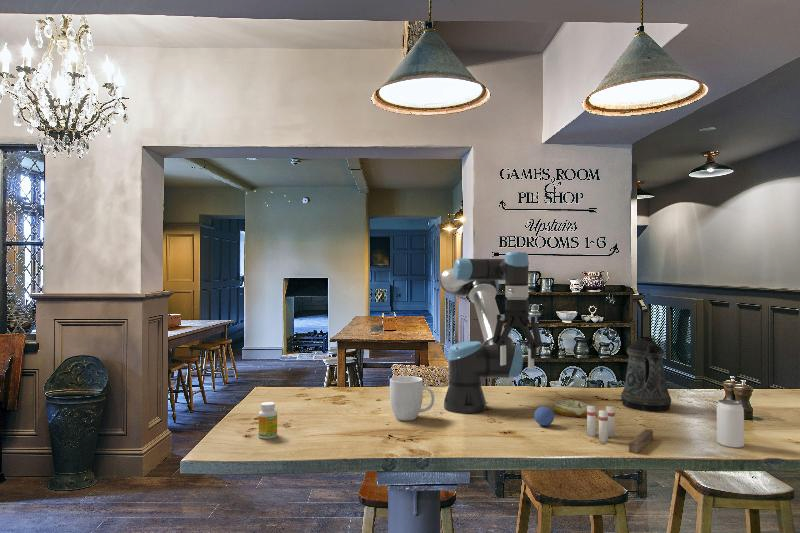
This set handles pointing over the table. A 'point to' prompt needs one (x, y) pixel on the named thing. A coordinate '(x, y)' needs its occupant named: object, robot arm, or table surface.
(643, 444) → the rail
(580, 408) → the decorated donut
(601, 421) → the pin back right
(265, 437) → the supplement bottle
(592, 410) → the pin front
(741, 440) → the can
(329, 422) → the table surface
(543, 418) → the ball
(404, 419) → the mug
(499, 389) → the table surface
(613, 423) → the pin back left
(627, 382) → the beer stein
